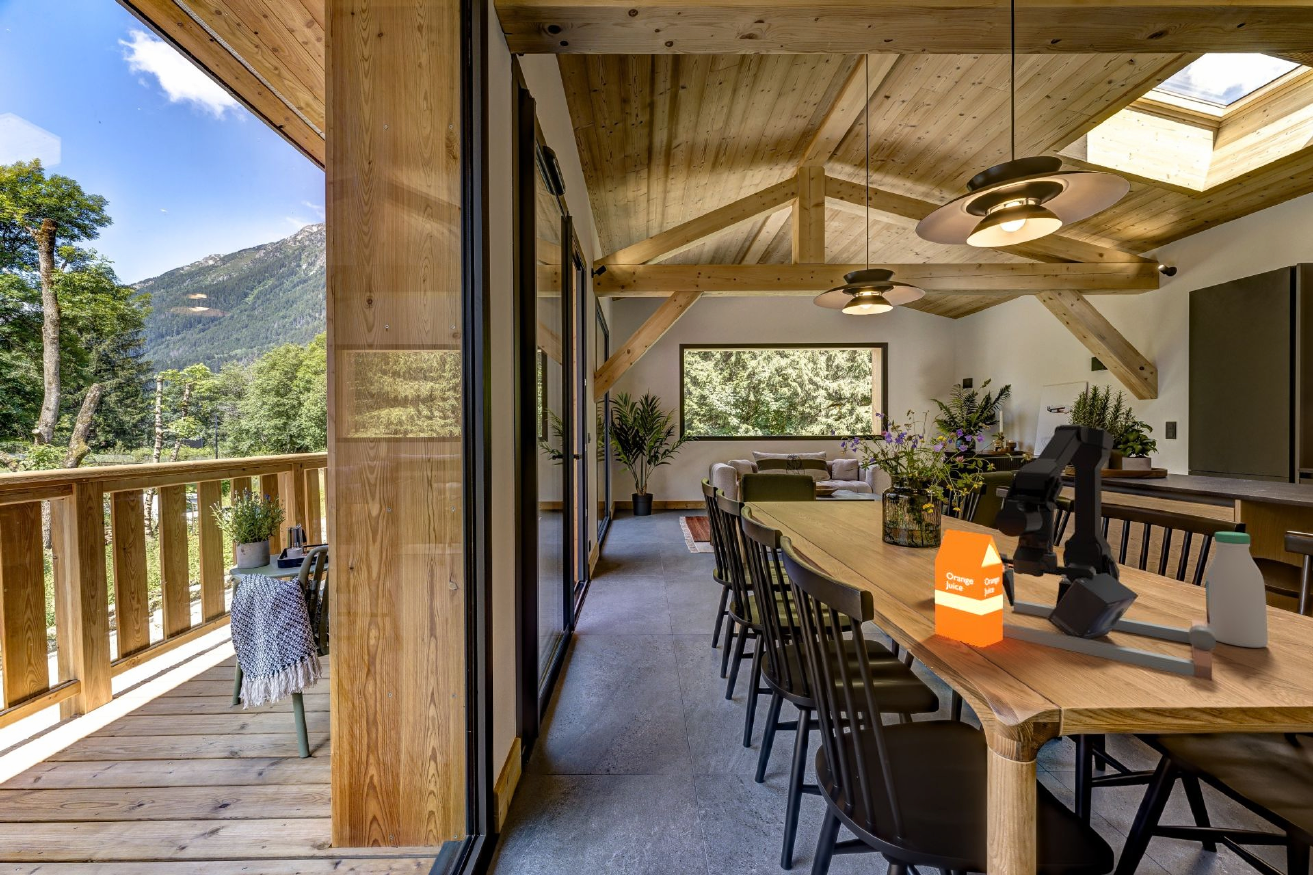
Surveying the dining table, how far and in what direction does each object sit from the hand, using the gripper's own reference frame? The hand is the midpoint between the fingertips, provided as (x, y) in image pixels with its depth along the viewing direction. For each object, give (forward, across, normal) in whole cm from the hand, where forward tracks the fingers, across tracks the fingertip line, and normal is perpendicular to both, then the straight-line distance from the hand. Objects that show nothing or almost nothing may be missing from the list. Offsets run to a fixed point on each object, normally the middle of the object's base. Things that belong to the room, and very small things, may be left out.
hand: (1034, 610), depth 111 cm
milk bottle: (+3, +29, +16) cm, 33 cm away
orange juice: (+4, -8, -15) cm, 17 cm away
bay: (+3, +10, 0) cm, 10 cm away
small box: (+2, +7, 0) cm, 7 cm away
